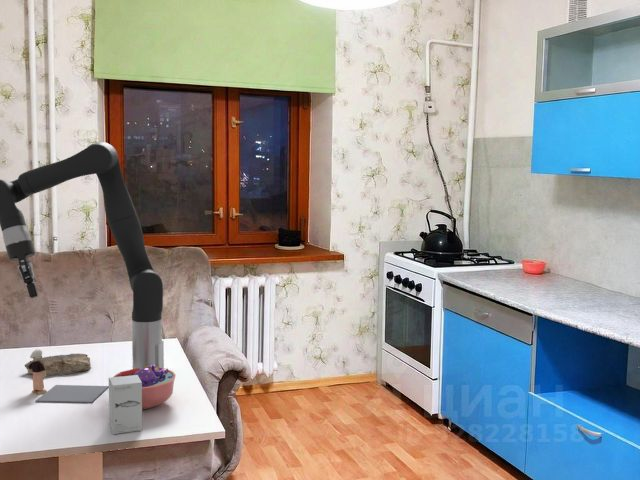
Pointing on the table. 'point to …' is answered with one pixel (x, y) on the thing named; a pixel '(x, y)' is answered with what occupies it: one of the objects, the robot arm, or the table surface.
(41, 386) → the grandmother figurine
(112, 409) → the supplement box
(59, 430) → the table surface
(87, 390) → the felt mat
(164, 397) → the cell model
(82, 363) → the clay tablet
